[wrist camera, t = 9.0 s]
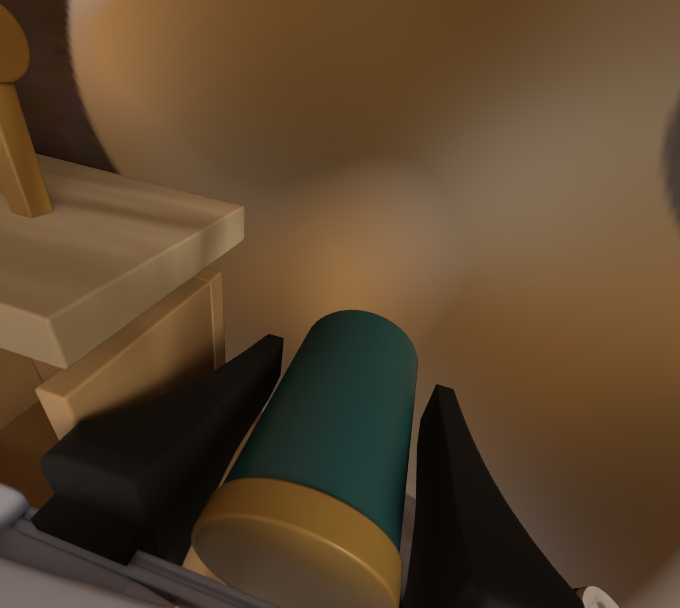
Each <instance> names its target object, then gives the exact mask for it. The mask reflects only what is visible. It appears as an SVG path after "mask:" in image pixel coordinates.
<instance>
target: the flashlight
mask: <svg viewBox="0 0 680 608" xmlns="http://www.w3.org/2000/svg"><path fill="white" fill-rule="evenodd" d="M573 591H574V592H575V593H576V594H577V595H578V596H579V598H580V599H581V600H582V601H583V603H584V606H585V608H619V606H618V605H617V604H616V603H615V602H614V601H613V600H612V599H611V598H610V597H609V596H608V595H607V594H606V593H605V592H604V591H602V590H601V589H599V588H598V587H594V586H589V587H581V588H575V589H573Z"/></svg>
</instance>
